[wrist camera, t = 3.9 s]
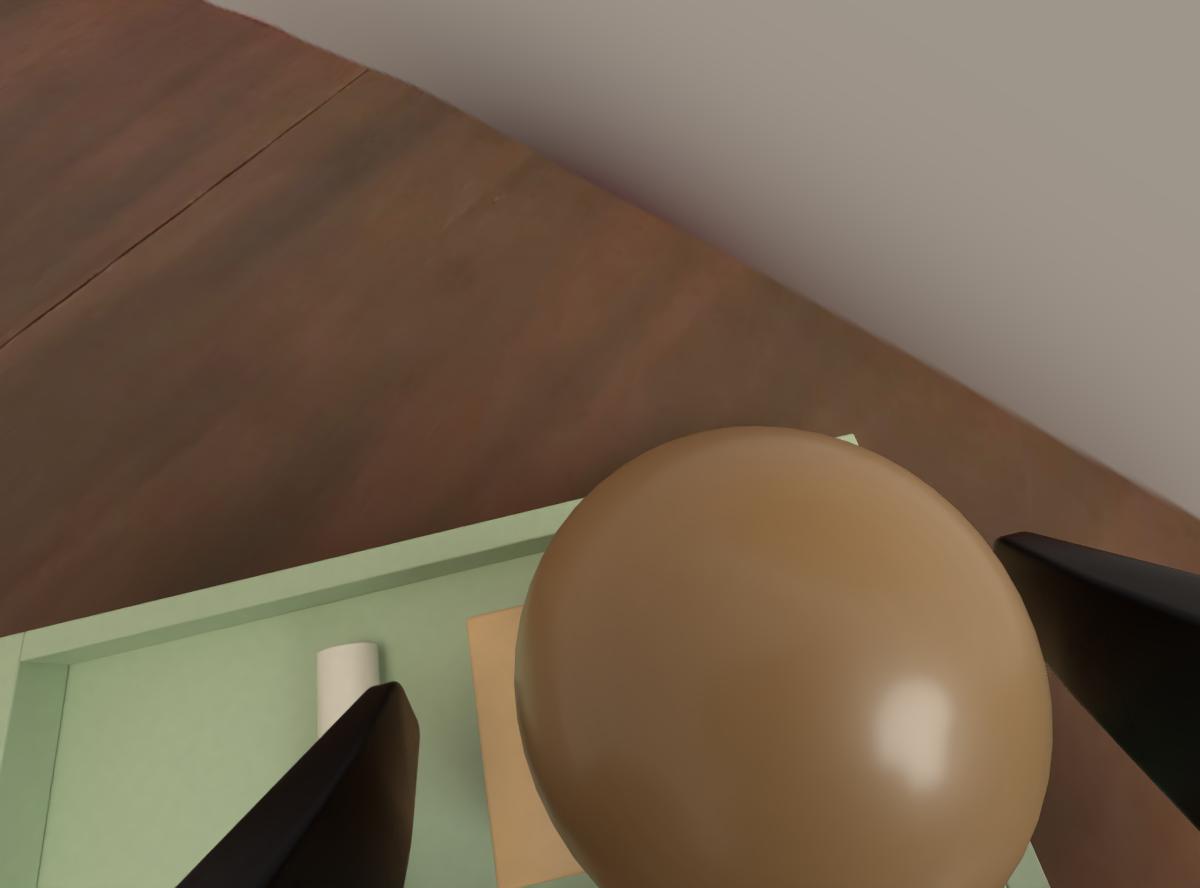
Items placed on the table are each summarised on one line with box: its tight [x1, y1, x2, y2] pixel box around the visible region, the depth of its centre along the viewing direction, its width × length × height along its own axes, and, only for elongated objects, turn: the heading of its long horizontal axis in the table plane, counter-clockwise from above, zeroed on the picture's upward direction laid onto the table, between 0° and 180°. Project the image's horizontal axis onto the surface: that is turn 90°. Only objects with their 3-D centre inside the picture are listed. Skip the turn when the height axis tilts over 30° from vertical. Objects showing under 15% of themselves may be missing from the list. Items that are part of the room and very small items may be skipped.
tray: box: [0, 434, 1050, 888], centre depth 15 cm, size 24×11×2 cm, turn 103°
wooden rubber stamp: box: [466, 426, 1053, 888], centre depth 9 cm, size 9×5×14 cm, turn 103°
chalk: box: [316, 642, 380, 740], centre depth 15 cm, size 6×2×2 cm
